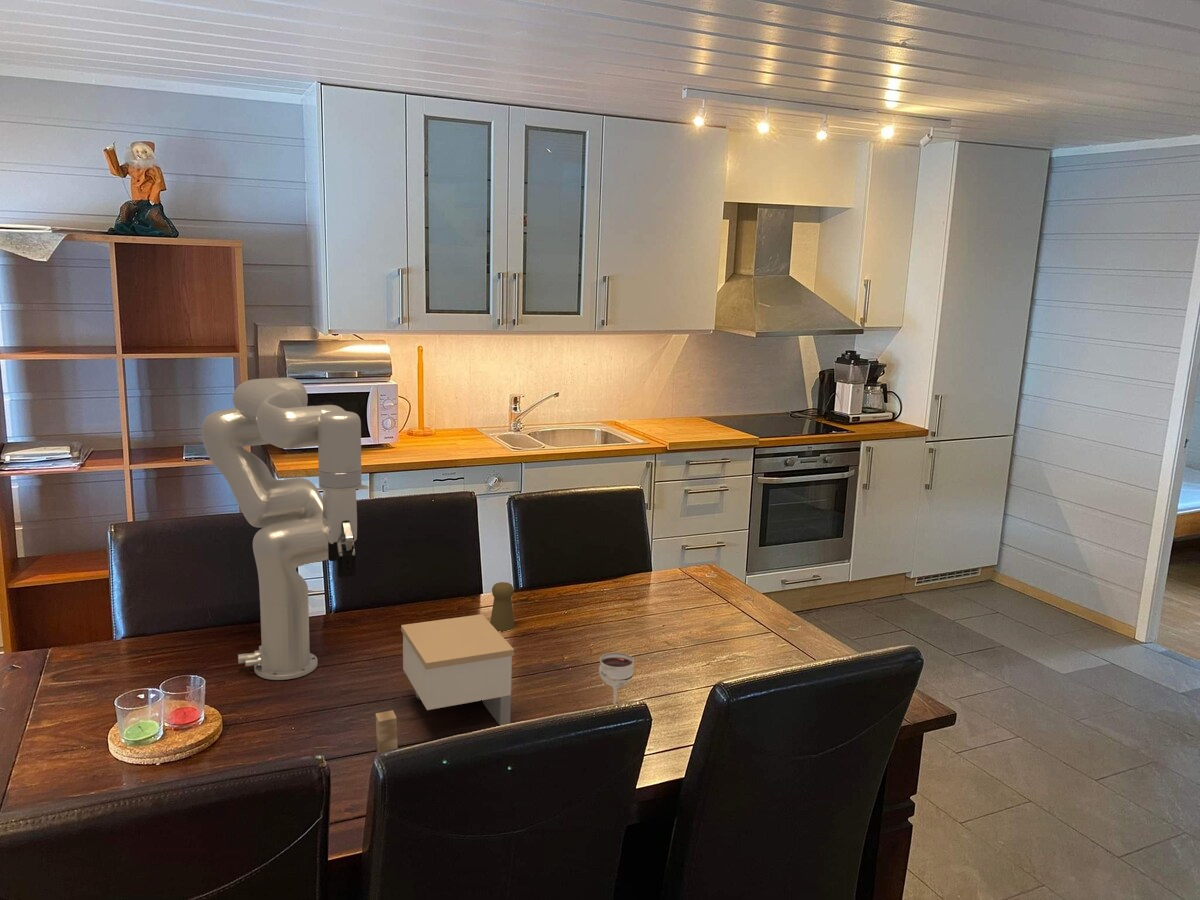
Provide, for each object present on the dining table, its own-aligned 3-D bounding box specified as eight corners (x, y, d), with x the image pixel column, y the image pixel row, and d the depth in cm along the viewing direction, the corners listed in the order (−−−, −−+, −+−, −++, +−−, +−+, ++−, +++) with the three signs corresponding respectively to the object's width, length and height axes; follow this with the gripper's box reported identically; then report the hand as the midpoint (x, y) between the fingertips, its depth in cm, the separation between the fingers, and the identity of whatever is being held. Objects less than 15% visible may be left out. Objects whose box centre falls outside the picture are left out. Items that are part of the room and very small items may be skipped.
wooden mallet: (380, 764, 150) (378, 721, 149) (377, 755, 153) (375, 713, 151) (484, 742, 158) (483, 701, 156) (479, 734, 160) (478, 693, 159)
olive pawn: (515, 622, 214) (516, 579, 212) (513, 632, 208) (514, 588, 206) (490, 622, 214) (491, 579, 212) (488, 631, 208) (489, 587, 206)
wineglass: (589, 716, 170) (591, 658, 167) (613, 706, 174) (616, 649, 172) (614, 730, 165) (617, 670, 163) (638, 719, 170) (641, 661, 167)
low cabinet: (425, 741, 158) (426, 663, 155) (401, 696, 174) (401, 625, 172) (512, 724, 165) (514, 649, 162) (481, 683, 182) (482, 614, 179)
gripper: (312, 470, 167) (313, 556, 170) (326, 491, 151) (328, 585, 155) (352, 468, 170) (353, 552, 173) (370, 488, 155) (371, 580, 158)
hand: (341, 567), depth 164 cm, fingers open, 9 cm apart
